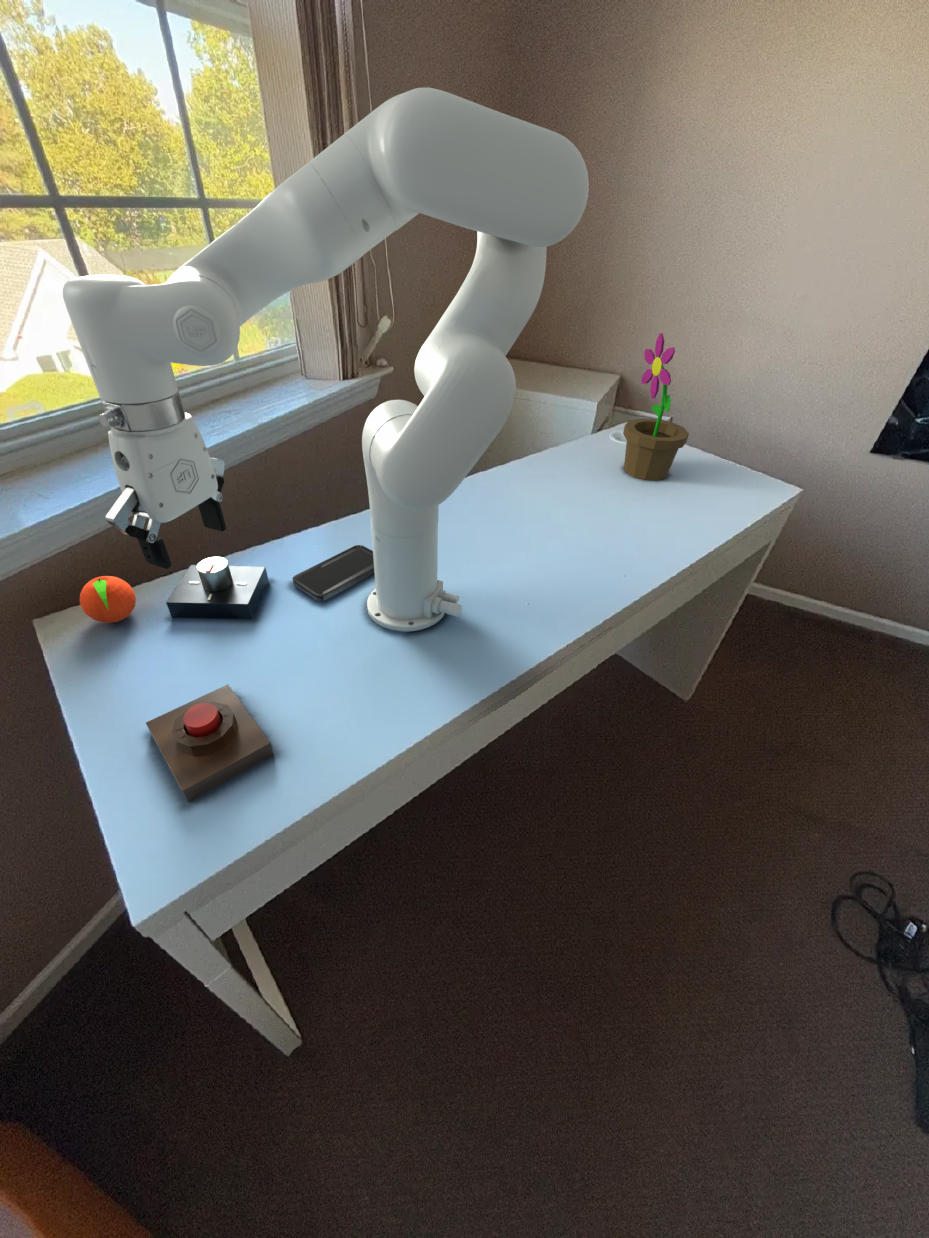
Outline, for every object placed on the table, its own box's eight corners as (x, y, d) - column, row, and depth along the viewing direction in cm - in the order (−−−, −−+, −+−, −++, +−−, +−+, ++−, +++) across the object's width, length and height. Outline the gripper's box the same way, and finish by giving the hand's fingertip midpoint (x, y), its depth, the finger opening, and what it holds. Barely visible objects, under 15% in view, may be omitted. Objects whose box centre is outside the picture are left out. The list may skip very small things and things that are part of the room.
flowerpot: (605, 460, 136) (634, 326, 116) (657, 457, 139) (693, 326, 119) (632, 486, 125) (669, 343, 106) (687, 482, 128) (733, 342, 109)
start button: (226, 726, 63) (222, 716, 62) (194, 742, 61) (190, 732, 60) (213, 708, 65) (209, 698, 64) (182, 723, 63) (178, 713, 62)
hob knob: (207, 575, 86) (201, 554, 84) (236, 575, 87) (230, 555, 84) (198, 591, 83) (191, 571, 81) (228, 591, 83) (222, 571, 81)
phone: (388, 560, 95) (319, 597, 86) (389, 565, 96) (320, 603, 87) (358, 543, 99) (289, 577, 90) (359, 548, 100) (290, 583, 90)
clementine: (147, 627, 81) (130, 588, 76) (93, 642, 78) (73, 603, 73) (138, 598, 86) (122, 561, 81) (88, 612, 83) (69, 573, 78)
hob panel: (268, 581, 91) (265, 565, 89) (252, 619, 83) (247, 603, 81) (195, 579, 90) (190, 563, 88) (171, 618, 83) (165, 601, 81)
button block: (274, 754, 64) (267, 732, 62) (188, 802, 59) (177, 781, 57) (232, 695, 71) (224, 674, 69) (151, 734, 66) (140, 712, 63)
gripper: (104, 444, 52) (160, 589, 63) (228, 394, 64) (257, 522, 75) (46, 431, 54) (110, 574, 65) (177, 384, 66) (212, 510, 77)
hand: (189, 546), depth 70 cm, fingers open, 9 cm apart
